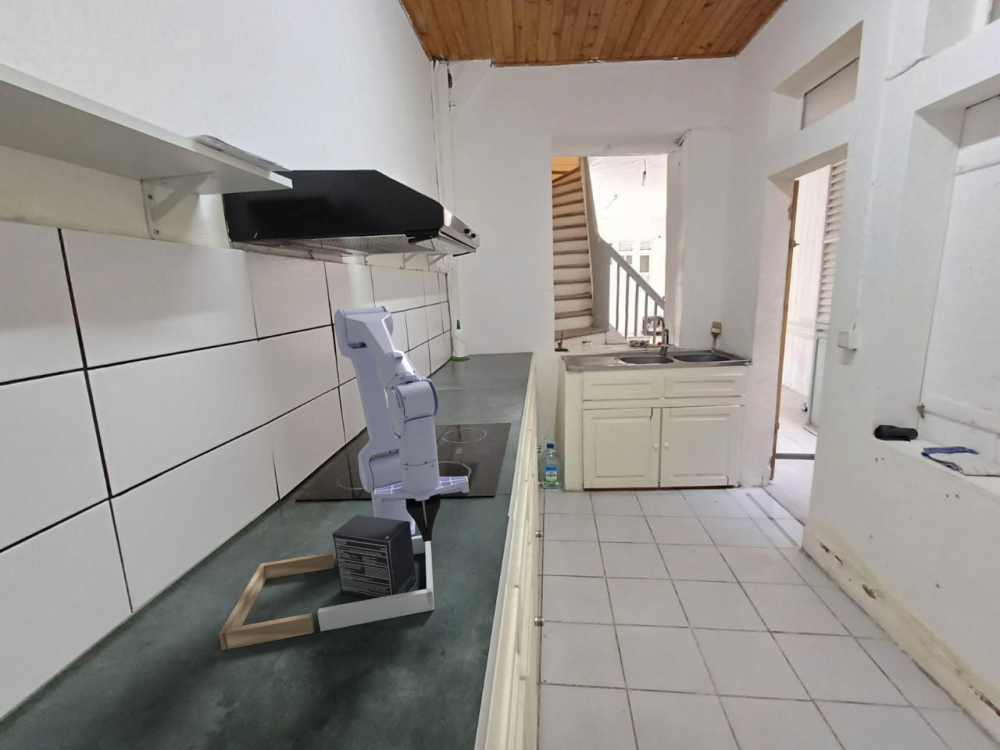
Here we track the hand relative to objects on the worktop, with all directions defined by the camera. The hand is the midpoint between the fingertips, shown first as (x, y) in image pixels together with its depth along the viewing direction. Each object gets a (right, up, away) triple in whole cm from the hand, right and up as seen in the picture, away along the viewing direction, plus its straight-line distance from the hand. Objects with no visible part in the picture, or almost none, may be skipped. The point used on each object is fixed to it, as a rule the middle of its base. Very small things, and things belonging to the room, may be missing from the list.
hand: (427, 538), depth 68 cm
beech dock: (-21, -9, -3) cm, 23 cm away
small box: (-8, -8, 0) cm, 11 cm away
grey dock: (-7, -8, 0) cm, 10 cm away
